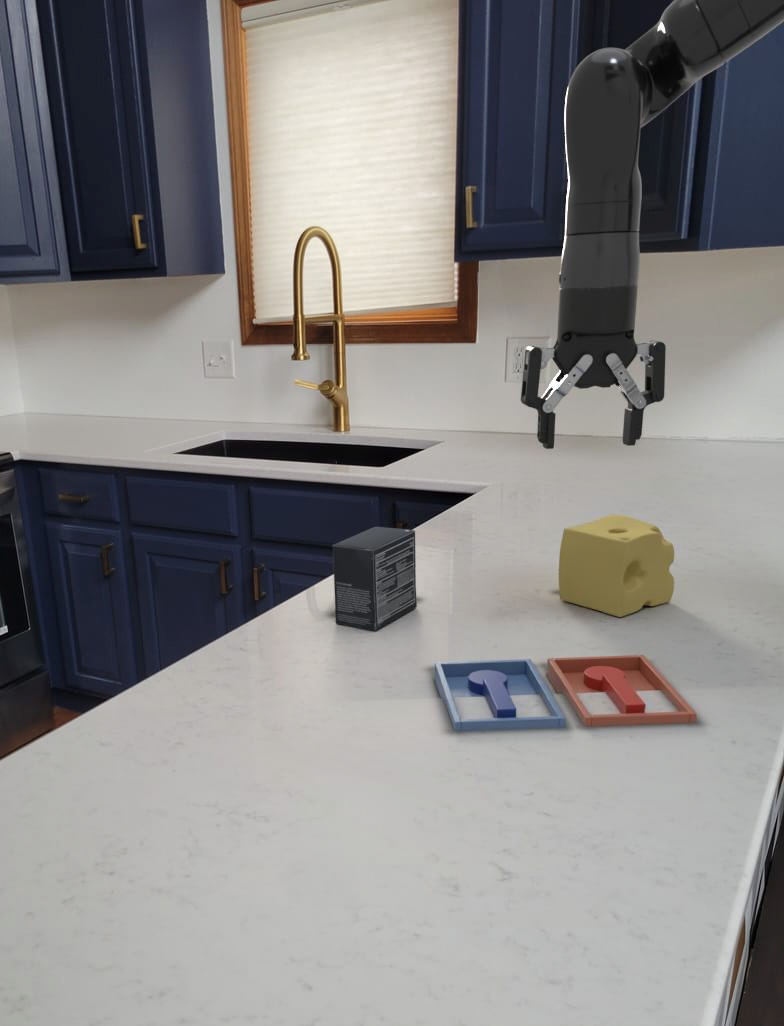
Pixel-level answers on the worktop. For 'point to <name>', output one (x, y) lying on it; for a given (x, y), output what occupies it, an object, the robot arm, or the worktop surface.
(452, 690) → the blue tray
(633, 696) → the red spoon
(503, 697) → the blue spoon
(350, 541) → the small box
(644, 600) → the cheese
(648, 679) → the red tray
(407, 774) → the worktop surface
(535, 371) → the robot arm
